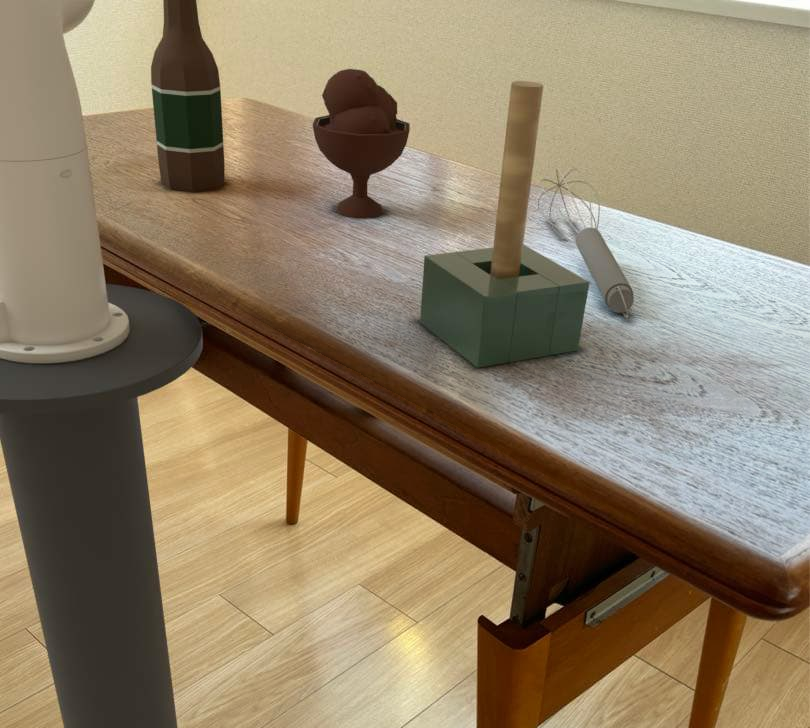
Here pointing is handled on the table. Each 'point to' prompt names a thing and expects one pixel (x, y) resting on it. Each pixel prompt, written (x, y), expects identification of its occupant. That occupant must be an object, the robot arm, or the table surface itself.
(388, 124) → the ice cream bowl
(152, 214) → the table surface
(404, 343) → the table surface
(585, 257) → the kitchen whisk
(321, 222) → the table surface
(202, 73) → the beer bottle
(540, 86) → the stick
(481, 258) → the holder
